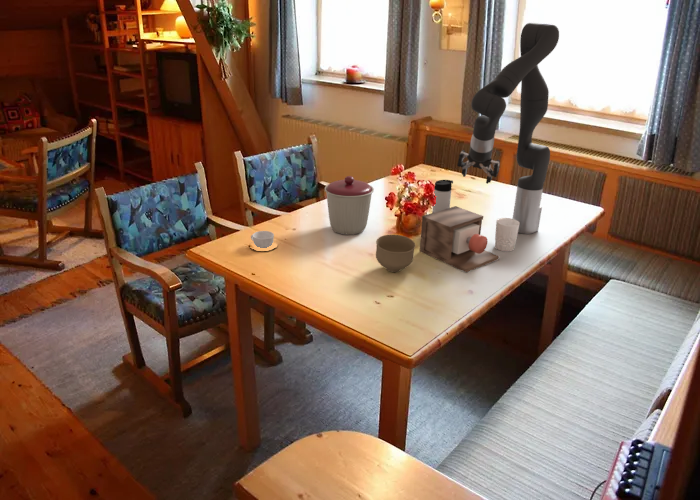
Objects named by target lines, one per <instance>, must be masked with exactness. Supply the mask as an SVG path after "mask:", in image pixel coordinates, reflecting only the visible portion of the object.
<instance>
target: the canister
mask: <svg viewBox="0 0 700 500" xmlns="http://www.w3.org/2000/svg"><path fill="white" fill-rule="evenodd" d="M374 189H375V188H374V187H373V186H372V185H370V184H369V183H367V182H365V181H362V180H359V179H358V180H356V179H355V177H353V176H352V175H348V176H345V177H344V179H340V180H335V181H332V182H330V183H329V184H327V185H325V187H324V192H326V201H327V210H328V219H329V223H330V227H331V229H332V230H333V231H334V232H335V233H337V234H340V235H358V234H360V233H362V232H364V230H365V229H366V227H367V224H368V220H369V214H370V207H371V200H372V193H374Z"/></svg>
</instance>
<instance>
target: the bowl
mask: <svg viewBox="0 0 700 500" xmlns="http://www.w3.org/2000/svg"><path fill="white" fill-rule="evenodd" d="M375 244H376V249H375V258H376V260H377V262H378V263H379V265H381V267H383V268H385V270H386V271H388V272H391V273H398V272H400V271H402V270H404V269H406V268H408V267H409V266H410V265H411V264H412V263H413V260H414V254H415V248H416V243H415V240H414V239H412V238H409V237H408V236H405V235H400V234H385V235H382V236H379V237H378V238H377V239H376V241H375Z"/></svg>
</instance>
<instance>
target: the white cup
mask: <svg viewBox="0 0 700 500" xmlns="http://www.w3.org/2000/svg"><path fill="white" fill-rule="evenodd" d="M495 223H496V224H495V237H494V248H495V249H496V250H498V251H499V252H500V251H501V252H511V251H512V252H513V251H514V249H515V246H516V243H517V238H518V229H519V224H520V223H519V221H517V220H515V219H513V218H511V217H510V218H509V217H501V218H497V219H496V222H495Z"/></svg>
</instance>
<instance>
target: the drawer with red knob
mask: <svg viewBox="0 0 700 500" xmlns="http://www.w3.org/2000/svg"><path fill="white" fill-rule="evenodd" d="M487 247H488V238H487V237H486V236H484V235H483V234H480V235H479V225H477V224H474V223H471V224H468V225H465V226H462V227H459V228H456V229H454V232H453V242H452V252H453V253H456V254H460V253H463V252H465V251H468V250H471V251H473V252H476V253H478V254H480V253H482V252H483V251H484V250H485V251H486V248H487Z"/></svg>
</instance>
